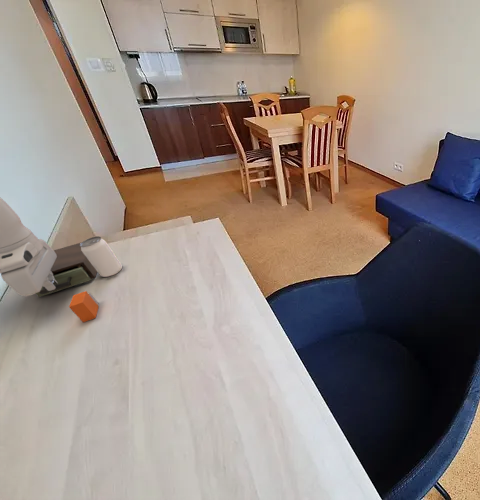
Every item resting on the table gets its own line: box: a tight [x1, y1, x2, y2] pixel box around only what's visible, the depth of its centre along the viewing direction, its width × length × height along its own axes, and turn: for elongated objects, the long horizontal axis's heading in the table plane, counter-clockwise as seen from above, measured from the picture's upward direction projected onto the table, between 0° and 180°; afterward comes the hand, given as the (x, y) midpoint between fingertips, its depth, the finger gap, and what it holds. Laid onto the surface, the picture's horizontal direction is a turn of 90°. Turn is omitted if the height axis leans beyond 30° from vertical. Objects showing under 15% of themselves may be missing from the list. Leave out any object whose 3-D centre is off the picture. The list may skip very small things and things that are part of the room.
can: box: [80, 236, 123, 278], centre depth 96 cm, size 6×6×12 cm
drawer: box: [35, 265, 92, 298], centre depth 96 cm, size 19×13×5 cm
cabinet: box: [51, 241, 98, 280], centre depth 99 cm, size 16×15×7 cm
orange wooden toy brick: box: [68, 290, 100, 323], centre depth 82 cm, size 3×7×6 cm, turn 28°
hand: (53, 287), depth 88 cm, fingers closed
